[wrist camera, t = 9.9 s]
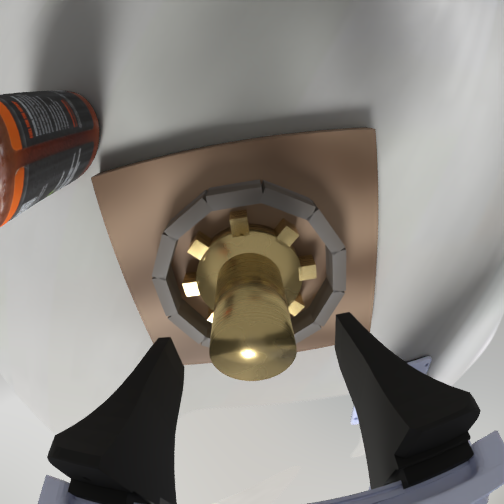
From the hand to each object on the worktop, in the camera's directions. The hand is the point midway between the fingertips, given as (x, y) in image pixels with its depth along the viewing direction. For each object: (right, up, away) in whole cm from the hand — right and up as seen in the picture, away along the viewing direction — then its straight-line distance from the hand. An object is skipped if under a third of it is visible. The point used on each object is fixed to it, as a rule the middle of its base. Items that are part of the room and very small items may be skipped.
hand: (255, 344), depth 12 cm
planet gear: (0, +3, +5) cm, 6 cm away
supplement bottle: (-12, +11, +2) cm, 16 cm away
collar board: (0, +3, +6) cm, 7 cm away
